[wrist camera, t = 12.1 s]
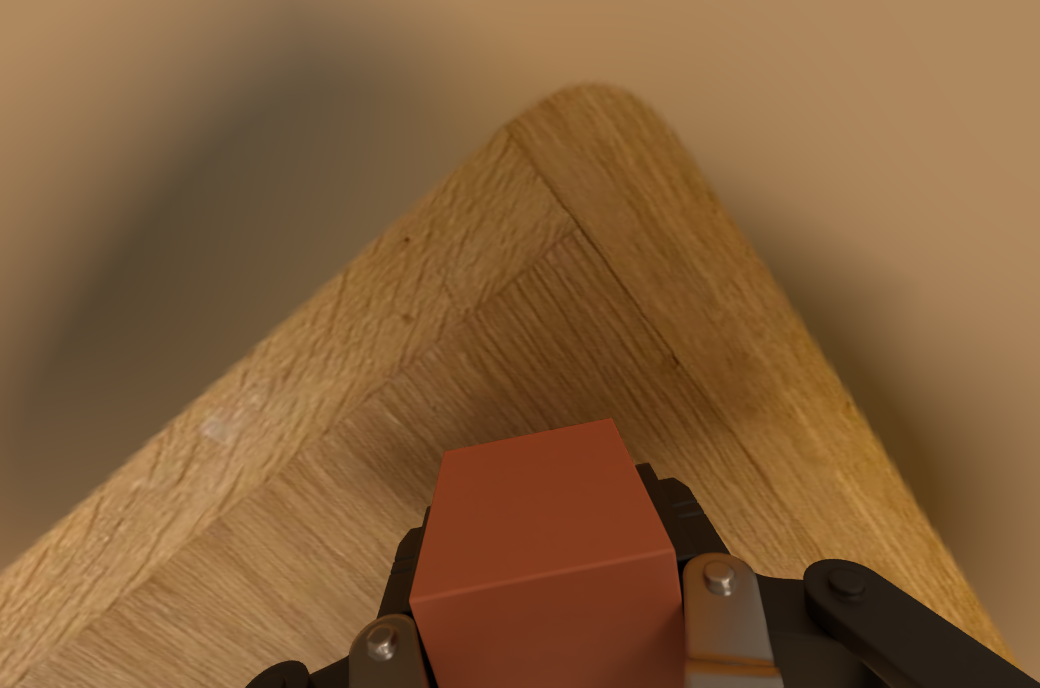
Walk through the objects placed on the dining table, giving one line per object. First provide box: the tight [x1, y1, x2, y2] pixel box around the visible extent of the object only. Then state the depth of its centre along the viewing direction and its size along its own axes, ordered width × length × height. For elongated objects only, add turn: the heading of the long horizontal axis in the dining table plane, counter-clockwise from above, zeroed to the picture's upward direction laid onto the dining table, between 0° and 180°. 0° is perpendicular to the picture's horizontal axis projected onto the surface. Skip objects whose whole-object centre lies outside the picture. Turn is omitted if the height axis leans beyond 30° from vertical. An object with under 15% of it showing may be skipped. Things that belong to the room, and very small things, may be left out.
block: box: [409, 418, 686, 688], centre depth 11 cm, size 4×4×5 cm
